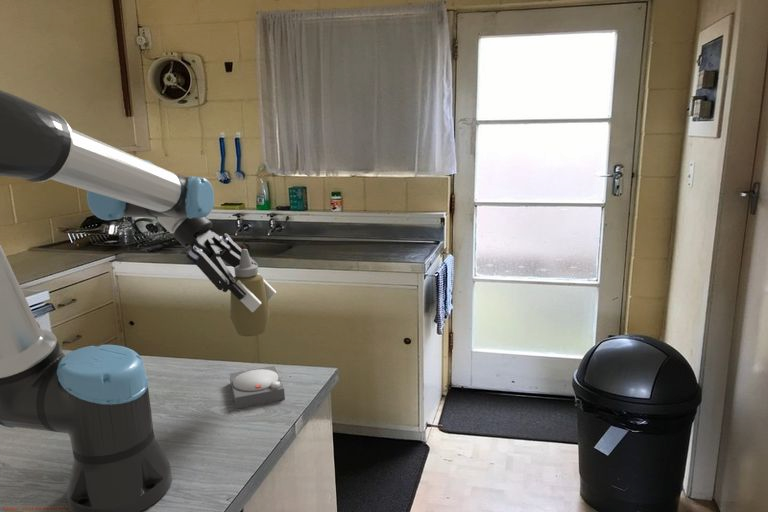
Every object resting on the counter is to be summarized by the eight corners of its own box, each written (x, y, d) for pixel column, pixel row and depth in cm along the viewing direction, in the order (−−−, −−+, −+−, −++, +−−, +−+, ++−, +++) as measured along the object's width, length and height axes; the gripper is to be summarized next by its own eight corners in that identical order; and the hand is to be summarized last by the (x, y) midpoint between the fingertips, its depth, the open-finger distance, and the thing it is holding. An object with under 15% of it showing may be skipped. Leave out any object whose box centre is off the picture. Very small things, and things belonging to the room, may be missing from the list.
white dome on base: (284, 399, 119) (283, 385, 119) (236, 408, 116) (234, 394, 115) (275, 375, 130) (274, 362, 130) (230, 383, 127) (229, 370, 126)
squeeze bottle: (276, 325, 123) (270, 245, 119) (262, 340, 116) (255, 254, 111) (241, 324, 125) (234, 244, 120) (225, 338, 117) (216, 254, 113)
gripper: (201, 226, 128) (273, 298, 128) (147, 245, 110) (231, 330, 110) (220, 203, 125) (294, 277, 125) (168, 219, 107) (254, 306, 107)
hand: (264, 301), depth 118 cm, fingers closed on squeeze bottle, 6 cm apart
